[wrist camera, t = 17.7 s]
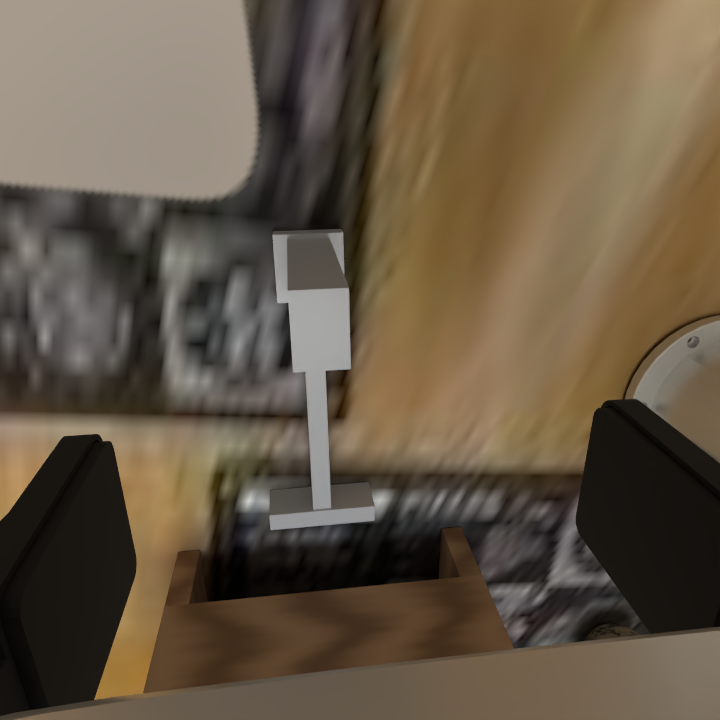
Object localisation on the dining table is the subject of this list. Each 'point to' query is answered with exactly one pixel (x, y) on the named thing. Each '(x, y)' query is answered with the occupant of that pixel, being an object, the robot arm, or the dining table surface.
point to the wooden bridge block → (322, 625)
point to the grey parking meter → (316, 371)
